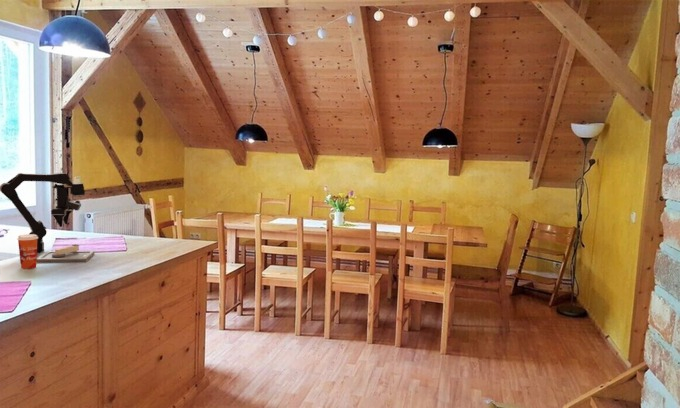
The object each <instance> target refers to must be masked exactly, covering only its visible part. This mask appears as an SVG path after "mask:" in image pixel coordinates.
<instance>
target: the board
mask: <svg viewBox="0 0 680 408" xmlns="http://www.w3.org/2000/svg"><path fill="white" fill-rule="evenodd" d="M54 253H55V250H54V251H53V250H51V251H49V250H48V251H46V252H45V253H43V254H41V255H40V256H37V263H36V264H38V263H39V264H40V263H41V264H42V263H43V264H44V263H86V262H88V261H89V260H90V259H91V258H92V257H93V256H94V255H95V250H78V251H74V252H70V253H66V256H64V257H52V254H54Z"/></svg>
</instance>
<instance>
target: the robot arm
mask: <svg viewBox="0 0 680 408" xmlns="http://www.w3.org/2000/svg"><path fill="white" fill-rule="evenodd" d="M24 182H45V183H46V182H49V183H54V184H53V185H52V186H51V188H52V189H56V191H55V192H56V198H55V201H56V206H55V207H54V208H52V209H51V210H50V212H51V215H52V216H53V218H54V220H55V221H56V223H57V225H58V227H59V228H61V227H63V223H64V224H65V225H67V224H68V223H69V218H70V215H71V213H73V212H74V211H80V209H81V207H82V203H81V201H80V200H77V199H76V200H75V201H74V200H73V201H72V200H71V199H72V198H70V195H71V196H72V197H84V196H85V195H86V192H85V191H86V190H85V186H84V183H83V182H80V183H73V182H72V181H71V180H70V176H69V175H68V174H67V173H65V172H55V173H49V174H47V173H45V174H44V173H22V172H19V173H17V174H16V175H15V176H14V177H12V178H11V179H10V180H8V181H7V182H3V183H2V184H0V192H1V193H2V195H4V196H5V197H6V198H7V199H8V200H9V201H10V202H12V204H13V205H14V207H15V208H16V209H17V211H18V212H19V214H21V217H22V218H23V219H24V220H25V221H26V223H27V224H28V226H29V229H30V232H29V233H28V234H35V235H37V237H38V239H37V254H40V253H42V252H44V251H45V243H44V241H43V238H44V237H45V236H46V235H47V232H48V231H47V230H46V229H47V227H46V226H45V225H44V223H43V222H42V221H41V220H38V221H37V220H36V219H35V217H34V216H33V215H32V214H31V212H30V211H29V209H28V208H27V207H26V205H25V204H24V203H23V202H22V200H21V199H20V197H19V195H18V193H17V190H16V189H17V188H18V187H19V186H20V185H21V184H22V183H24Z"/></svg>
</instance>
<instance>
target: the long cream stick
mask: <svg viewBox="0 0 680 408" xmlns="http://www.w3.org/2000/svg"><path fill="white" fill-rule="evenodd" d="M54 251H55V253H54V254H52V257H64V256H66V253H70V252H74V251H80V245H79V244H72V245H68V246H64V247H60V248H55V249H54Z"/></svg>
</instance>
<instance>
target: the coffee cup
mask: <svg viewBox="0 0 680 408" xmlns="http://www.w3.org/2000/svg"><path fill="white" fill-rule="evenodd" d="M16 239H17V241H18V242H17V243H18V251H19V252H18V253H19V261H20V262H19V263H20V268H21V269H23V270H31V269H35V268H37V264H38V263H37V258H38V253H37V239H38V237H37V235H35V234H29V233H26V234H19V235H18V237H17V238H16Z"/></svg>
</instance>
